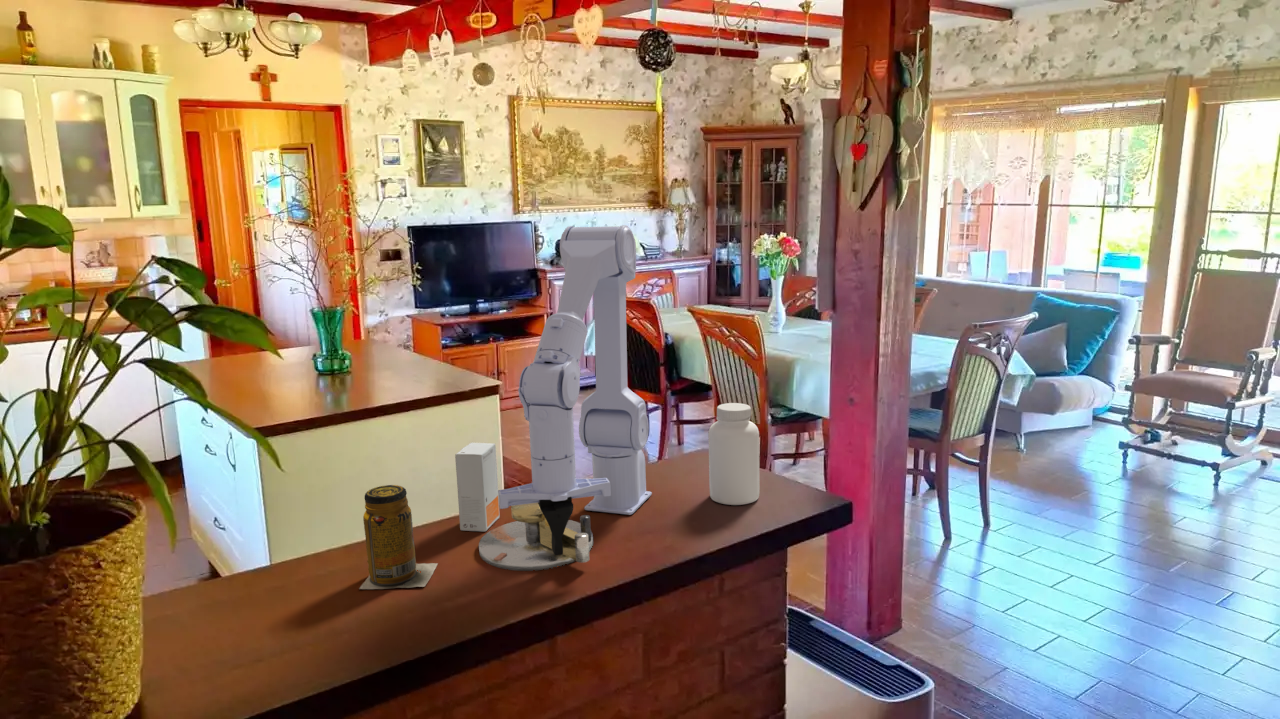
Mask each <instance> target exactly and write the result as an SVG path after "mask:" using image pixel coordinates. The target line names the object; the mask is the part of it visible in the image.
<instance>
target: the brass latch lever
mask: <svg viewBox="0 0 1280 719" xmlns="http://www.w3.org/2000/svg"><path fill="white" fill-rule="evenodd" d="M510 510H511V518H512V520H514V521H519V522H525V523H535V522H539V526H540V542H541V544H543V545H545V546H547V547H549V548H551V549H552V542H551V541H552V532H551V530H550V527H549V524H548V522H547V520H546V518H545V517H544V515H543V513H542V511H541V509H540V507H539V504H538V503H531V504H522V505H514V506H510ZM562 544H563V555H565V556H568V557H570V558H572V559H574V560H576V561H575V562H577V563H587V562H589V561H590V551H589V540H588V534H587V533H577V532H575V531H573V530H570V529H568V528H565V530H564V534H563V537H562Z"/></svg>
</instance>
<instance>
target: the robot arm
mask: <svg viewBox="0 0 1280 719" xmlns="http://www.w3.org/2000/svg"><path fill="white" fill-rule="evenodd" d="M563 230H564V231H563V232H562V234H561V237H560V241H559V253H560V257H561V258H560V259H561V263H562V266H563V268H564V271H565V272H564V278H563V282H562V287H561V292H560V298H559V302H558V305H557V312H556V313H553V314H551V315H549V316H548V317H547V318H546V321H545V324H544V327H543V330H542V333H541V336H540V339H539V344H538V346H537V348H536V352H535V356H534V359H533V361H532V362H531V363H529V365H527V366H525V367H524V368H523V369H522V371H521V373H520V377H519V382H518V391H517V392H518V398H519V400H520V403H521V405H522V407H523V414H524V415H523V417H524V418H525V420H526V421H527V422H528V428H529V429H528V430H529V431H528V432H529V448H530V449H529V450H530V463H531V480H532V481H531V483H526V484H523V485H518V486H513V487H510V488H505V489H498V497H499V510H500V509H501V510H502V509H503V510H504V509H509V508H510V507H511V506H514V505H522V504H531V503H538V504H539V507H540V509H541V511H542V513H543V515H544V517H545V518H546V520H547V522H548V524H549V527H550V530H551V532H552V541H551V542H552V550H553V553H554V555H562V554H563V544H562V537H563V534H564V530H565V528H566V525H567V523H568V520H570V518H571V517H572V515H573V512H574V503H573V502H572V501H573V500H572V499H581V498H582V499H583V498H589V497H593V499H592V500H591V501H589V503H587V504H586V505H584V510H585V511H589V512H590V511H592V512H600V513H609V514H620V515H628V516H631V515H633V514H634V513H635V512H636V511H637V510H638V509H639V508H640V507H641V506H642V505H643V504H644V503H645V502H646V501H647V500H648V499H649V498H650V497H651V496H652V494H653V492H652V491H650V490H649V491H648V490H647V479H646V478H647V477H646V458H645V457H646V456H645V454H644V452H643V450H642V449H643V448H644V447H645V446H646V445H647V442H648V437H649V428H650V427H649V425H650V424H649V418H648V415H647V407H646V406H647V404H646V402H645V400H644V399H643V398H642V397H640V396H639V395H638V394H637V393H636V392H633V391H632V389H630V388H629V387H628V351H627V350H628V348H627V344H628V342H627V337H628V336H627V299H626V298H627V283H628V282H631V281H633V280H634V279H636V271H637V243H636V239H635V236H634V234H633V231H632V230H631V229H630V227H629V225H626V224H622V225H620V226H617V225H616V226H573V225H569V226H567V227H566V228H565V229H563ZM592 298H593V309H594V310H593V314H594V316H593V317H594V318H593V319H594V321H593V322H594V354H595V360H594V361H595V391H593V392H592V393H590V395H588V396H586V397H585V398H584V400H583V402H582V403H581V406H580V407H581V408H580V418H579V421H578V422H579V423H578V435H579V439H580V442H581V443H582V445H583V446H584V448H587V453H588V454H591V463H592V478H577V473H576V472H577V470H576V451H575V450H576V449H575V426H574V407H575V405H576V404H577V402H578V398H579V396H580V390H581V389H580V388H581V385H580V384H581V382H580V381H581V380H580V377H581V367H580V366H579V365H580V360H581V357H582V353H583V349H584V346H585V342H586V338H587V335H588V328H587V326H586V324H585V322H584V321H583V320H584V318H585V315H586V312H587V310H588V308H589V305H590V303H591V300H592Z"/></svg>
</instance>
